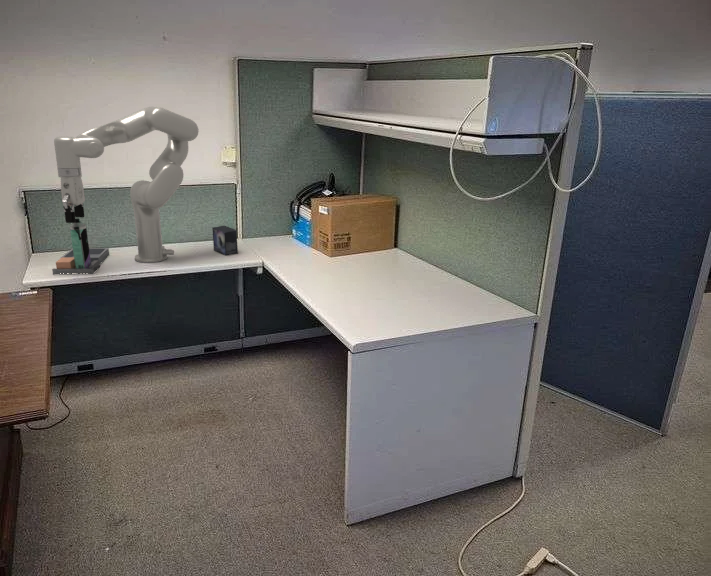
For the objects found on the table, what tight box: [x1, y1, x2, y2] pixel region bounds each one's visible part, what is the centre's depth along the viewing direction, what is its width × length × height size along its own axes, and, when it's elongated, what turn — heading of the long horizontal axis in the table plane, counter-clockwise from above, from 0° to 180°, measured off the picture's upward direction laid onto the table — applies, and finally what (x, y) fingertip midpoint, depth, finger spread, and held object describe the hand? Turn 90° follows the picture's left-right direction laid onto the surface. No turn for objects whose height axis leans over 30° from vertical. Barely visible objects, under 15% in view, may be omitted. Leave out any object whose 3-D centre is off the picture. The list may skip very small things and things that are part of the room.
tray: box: [60, 247, 110, 265], centre depth 221 cm, size 14×14×3 cm
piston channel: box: [51, 260, 101, 275], centre depth 208 cm, size 14×9×3 cm, turn 98°
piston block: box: [55, 257, 76, 269], centre depth 208 cm, size 5×6×4 cm
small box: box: [211, 225, 239, 256], centre depth 237 cm, size 11×6×10 cm, turn 43°
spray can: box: [69, 217, 91, 268], centre depth 206 cm, size 6×6×20 cm
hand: (75, 219), depth 202 cm, fingers open, 9 cm apart
